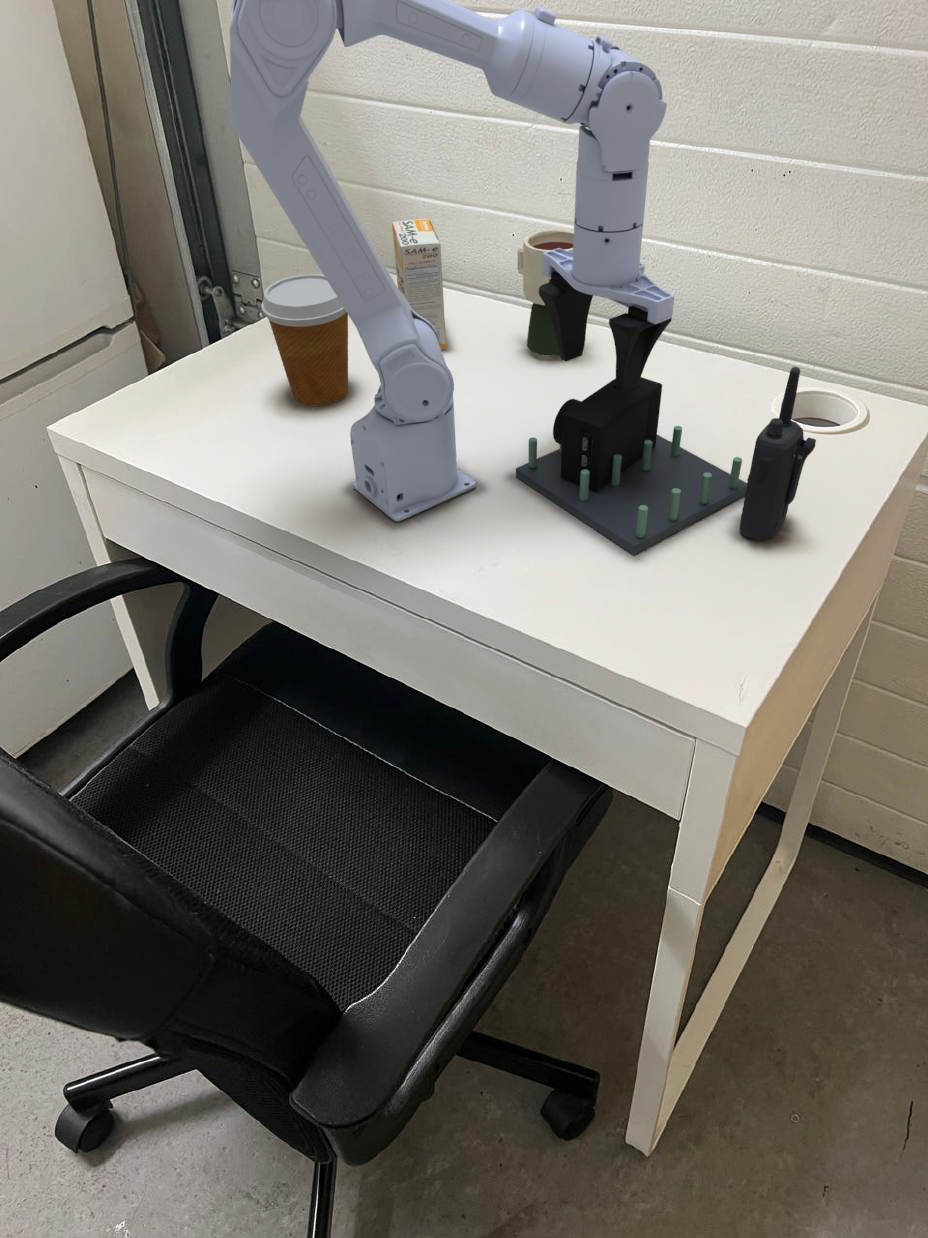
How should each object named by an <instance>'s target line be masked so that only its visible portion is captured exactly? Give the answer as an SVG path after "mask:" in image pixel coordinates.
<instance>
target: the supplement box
mask: <svg viewBox="0 0 928 1238" xmlns="http://www.w3.org/2000/svg"><path fill="white" fill-rule="evenodd" d="M391 226H392V227H391V229H392V238H393V247H394V249H393V251H394V259H395V260H394V261H395V272H396V282H397V288H398V289H399V291H400V292H401V293H402V294H403V295H404V296H405V298H406V300H407V301H408V303H409V305H410V306H411V308H412V309H413V310H414V311H415V312H416V313H417V314H418V315H420V316H422V317H423V318H425V319H427V320H428V321H429V322H430V323H431V324H432V325H433V327H434V328H435V330H436V332H437V334H438V338H439V343H440V348H441V351H442V350H446V349H447V335H446V321H445V319H446V318H445V301H444V299H445V298H444V282H443V265H442V264H443V263H442V249H441V248H442V247H441V240H440V239H439V237H438V234H437V231H436V230H435V228H434V225H433V223H432V221H431V219H430V217H429V218H417V219H406V220H398V221H392V222H391Z"/></svg>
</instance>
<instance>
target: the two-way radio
mask: <svg viewBox="0 0 928 1238" xmlns="http://www.w3.org/2000/svg"><path fill="white" fill-rule="evenodd" d="M800 375H801V368H799V367H798V366H792V368H791V369H790V371H789V375H788V378H787V383H786V386H785V391H784V395H783V398H782V399H783V400H782V403H781V407H780V411H779V416H778V417H774V418H772V419H770V421H769V423H768V424H767V425H765V427H764V428H763V429H762V430H761V431H760V433H759V434H758V436H757V437H756V439H755V445H754V449H753V454H752V459H751V464H750V468H749V474H748V476H747V479H746V483H747V485H748V486H747V490H746V491H745V494H744V496H743V498H744V500H743V506H742V509H741V510H742V511H741V515H740V523H739V531H740V532H741V534H742V535H744V536H745V537H748V538H750V539H753V540H768V539H772V538H773V537H775V536H776V535H777V534H778V533H779V532H780V530H781V529H782V528H783V526H784V524H785V522H786V519H787V514H788V512H789V511H788V510H789V506H790V504H792V503H793V501H794V499H795V498H796V495H797V491H798V488H799V487H798V486H799V482H800V478H801V474H802V473H803V472H802V471H803V467H804V464H805V462H806V460H807V458H808V457H809V455H810V454H811V453H812V452H814V449H815V447H816V442H817V440H816V439H815V438H812V437H807V438H806V439H805V437H804V429H803V427H801V425H799V423H797V422H795V421H794V420H792V418H793V414H794V413H793V412H794V408H795V403H796V397H797V391H798V387H799V380H800Z"/></svg>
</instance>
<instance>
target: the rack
mask: <svg viewBox="0 0 928 1238" xmlns="http://www.w3.org/2000/svg"><path fill="white" fill-rule="evenodd" d="M682 434H683V427H682V426H681V425H674V427H673V430H672V439H671V441H670V440H668V439H667V438H664V437H662V436H661V435H659V434H657V438H656V446H655V447H654V448H653V449H652V441H651V440H645V441H644V447H643V457H641V458H640V459H639V460H638V461H636V462H635V463H634V464H632V465H631V466H630V467H629V468H627V469H626V470H625V471H624V472H622V473H621V474H620V471H621V459H622V457H621V455H618V454H616V455H614V456H613V463H612V476H611V482H610V483H608V484H607V485H606V486H604V487H603V488H602V489H601V490H599V491H598V492H594V491H592V490H590V489H589V474H590V472H589V471H588V470H582V471H581V476H580V485H577V484H575V483H572V482H570V481H567V480H565V479H563V478H561V454H562V445H561V444H559V448H558V449H555V450H553V451H551V452H549V453H547V454H544V455H542V456H540V457H538V439H537V438H536V437H530V438H528V462H527V463H525V464H522V465H520V466H518V467H516V468H515V477H516V478H517V479H518V480H520V481H522V482H523V483H524V484H525V485H528V486H529V487H531V488H532V489H534V490H535V491H536V492H538V493H540V494H541V495H542V496H544V497H546V498H547V499H549V500H550V501H552V502H553V503H555V504H556V505H557V506H559V507H561V508H562V509H564V510H565V511H566V512H568V513H569V514H571V515H573V516H574V517H576V518H577V519H579V520H580V521H582V522H583V523H585V524H586V525H588V526H589V527H591V528H592V529H594V530H595V531H597V532H598V533H600V534H601V535H603V536H604V537H605V538H607V539H609V540H610V541H611V542H613V543H615V544H616V545H618V546H619V547H621V548H622V549H623V550H624V551H626V552H629V553H630V554H631V555H632V556H634V555H637V554H639V553H640V552H642V551H644V550H646V549H648V548H650V547H652V546H654V545H655V544H657V543H659V542H661V541H663V540H665V539H666V538H668V537H670V536H671V535H673V534H675V533H676V534H677V532H679V531H682V530H683V529H685V528H688V526H690V525H692V524H694V523H696V522H698V521H700V520H701V519H704V518H705V517H707V516H709V515H711V514H712V513H715V512H716V511H718V510H720V509H722V508H724V507H725V506H727V505H730V504H731V503H733V502H735V501H737V500H739V499H740V498H743V497H744V494H745V491H746V490H747V486H748V485H747V481H744V480H742V479H740V476H741V475H740V474H741V469H742V463H743V458H742V457H740V456H735V457H734V458H733V459H732V463H731V464H732V465H731V470H730V473H729V472H727V471H725V470H723V469H722V468H720V467H718V466H716V465H714V464H712V463H711V462H709V461H707V460H705V459H703V458H702V457H699V456H698V455H696V454H694V453H692V452H691V451H688V450H686V448H683V447H682V446H681V443H682V442H681V441H682Z"/></svg>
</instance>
